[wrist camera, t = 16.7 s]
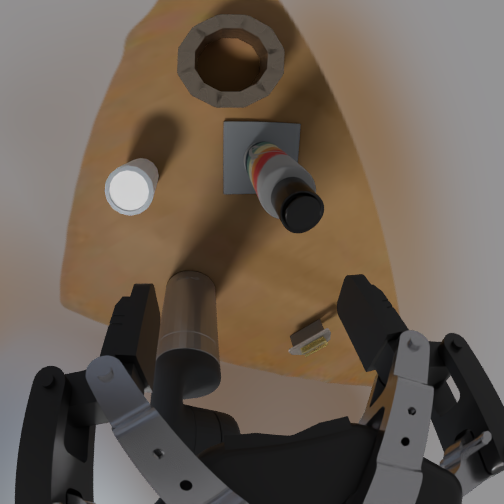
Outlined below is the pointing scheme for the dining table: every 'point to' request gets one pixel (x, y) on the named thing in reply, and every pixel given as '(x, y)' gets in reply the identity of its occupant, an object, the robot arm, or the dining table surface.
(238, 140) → the rubber mat
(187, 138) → the dining table surface
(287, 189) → the lotion bottle
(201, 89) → the collar
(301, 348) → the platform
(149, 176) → the white cylinder
